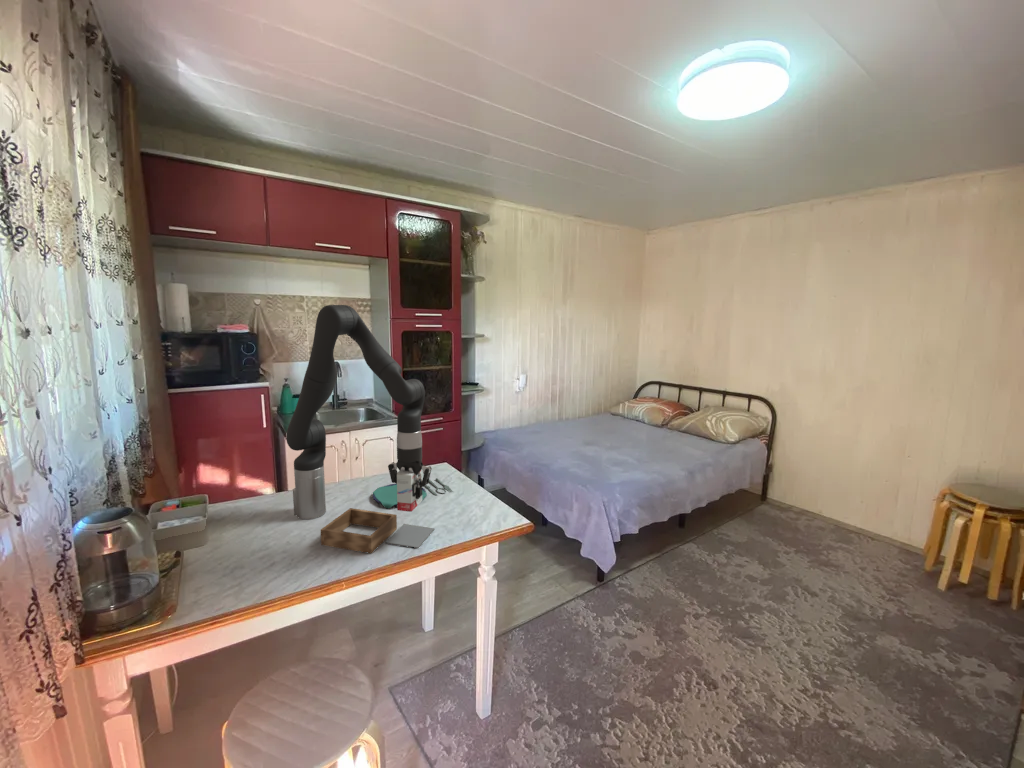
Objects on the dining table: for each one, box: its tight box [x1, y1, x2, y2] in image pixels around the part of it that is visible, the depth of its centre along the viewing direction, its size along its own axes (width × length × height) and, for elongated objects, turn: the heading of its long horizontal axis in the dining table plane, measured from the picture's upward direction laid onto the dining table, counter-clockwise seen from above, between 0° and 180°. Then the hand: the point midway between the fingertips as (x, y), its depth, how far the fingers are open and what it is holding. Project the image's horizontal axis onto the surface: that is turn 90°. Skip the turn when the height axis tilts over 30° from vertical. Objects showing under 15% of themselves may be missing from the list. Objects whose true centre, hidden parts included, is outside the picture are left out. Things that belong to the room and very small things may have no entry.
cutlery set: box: [372, 477, 454, 509], centre depth 165 cm, size 20×30×2 cm, turn 125°
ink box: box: [396, 469, 423, 512], centre depth 131 cm, size 9×5×12 cm, turn 168°
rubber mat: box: [384, 523, 436, 549], centre depth 133 cm, size 11×12×1 cm
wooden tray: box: [320, 508, 398, 554], centre depth 132 cm, size 17×15×5 cm
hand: (410, 496), depth 131 cm, fingers closed on ink box, 5 cm apart
